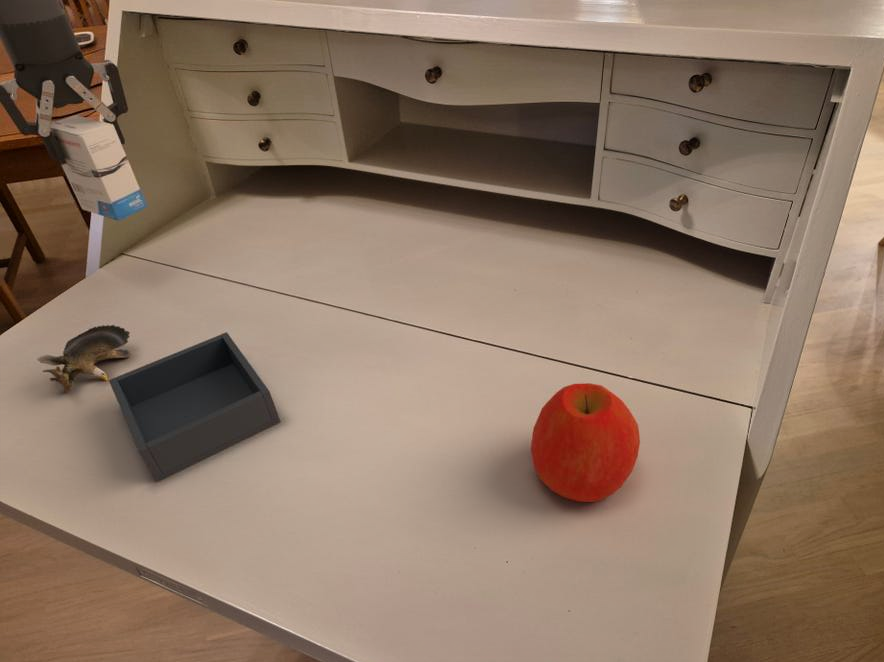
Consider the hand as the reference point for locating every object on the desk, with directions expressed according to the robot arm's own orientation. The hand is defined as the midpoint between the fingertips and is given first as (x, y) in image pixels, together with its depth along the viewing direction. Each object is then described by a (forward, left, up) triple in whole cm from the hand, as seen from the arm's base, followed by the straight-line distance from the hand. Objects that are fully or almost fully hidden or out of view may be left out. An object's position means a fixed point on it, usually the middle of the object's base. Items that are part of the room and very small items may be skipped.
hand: (91, 155), depth 84 cm
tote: (-3, -35, -19) cm, 40 cm away
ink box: (0, 0, -8) cm, 8 cm away
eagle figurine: (-11, -19, -20) cm, 29 cm away
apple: (+25, -68, -20) cm, 75 cm away
